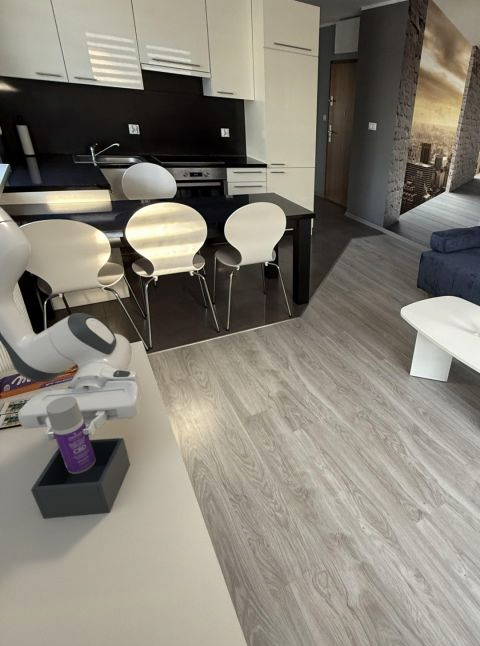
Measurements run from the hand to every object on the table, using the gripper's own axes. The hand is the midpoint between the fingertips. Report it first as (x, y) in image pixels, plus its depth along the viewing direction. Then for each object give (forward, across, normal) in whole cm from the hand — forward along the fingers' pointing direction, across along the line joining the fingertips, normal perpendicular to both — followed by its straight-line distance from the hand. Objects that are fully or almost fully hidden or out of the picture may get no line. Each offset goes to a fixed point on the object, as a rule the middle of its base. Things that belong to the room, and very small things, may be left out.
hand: (69, 435), depth 72 cm
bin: (-1, 0, +16) cm, 16 cm away
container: (-1, 0, +9) cm, 9 cm away
